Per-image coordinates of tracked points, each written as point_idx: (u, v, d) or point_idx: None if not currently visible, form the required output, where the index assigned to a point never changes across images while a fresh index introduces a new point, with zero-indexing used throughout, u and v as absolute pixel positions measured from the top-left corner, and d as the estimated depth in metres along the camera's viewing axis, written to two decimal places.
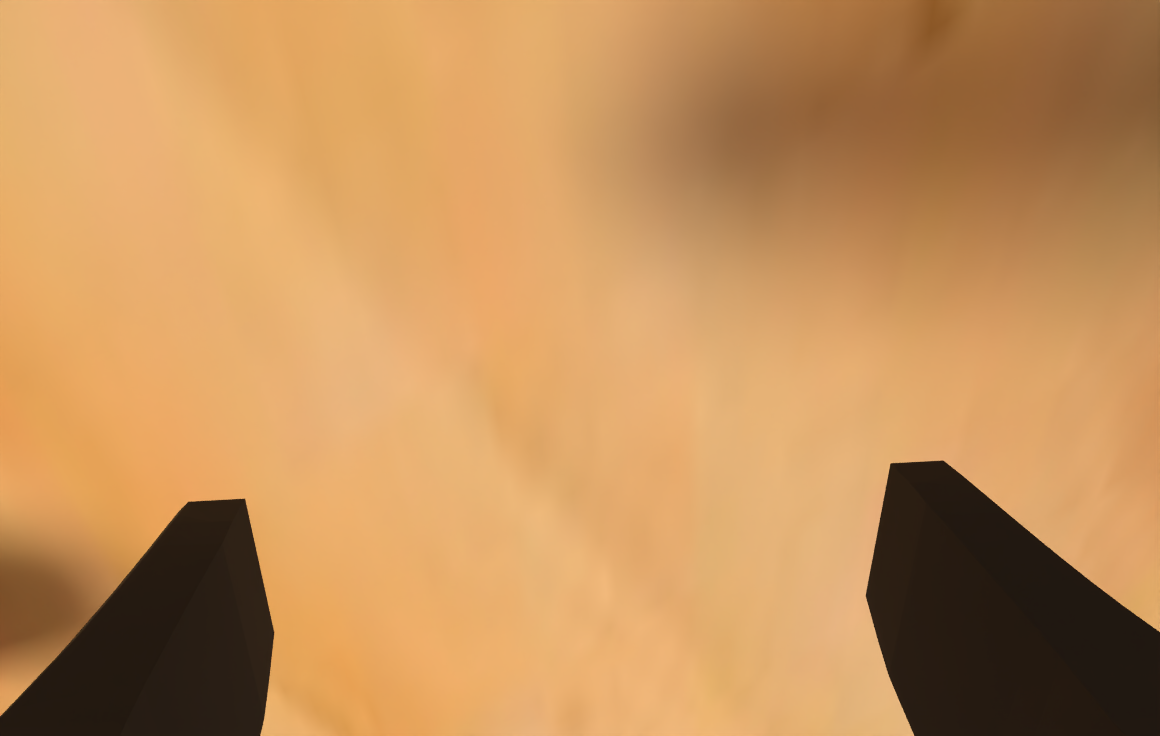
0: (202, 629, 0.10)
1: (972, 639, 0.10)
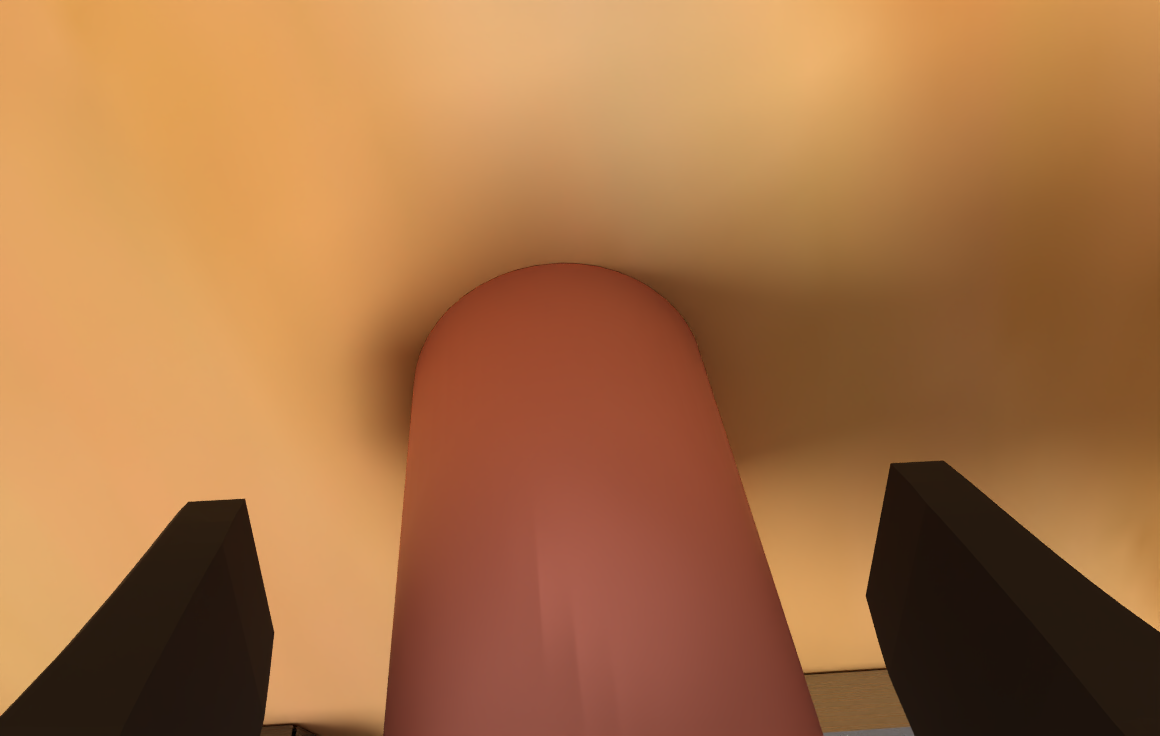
0: (203, 629, 0.10)
1: (972, 639, 0.10)
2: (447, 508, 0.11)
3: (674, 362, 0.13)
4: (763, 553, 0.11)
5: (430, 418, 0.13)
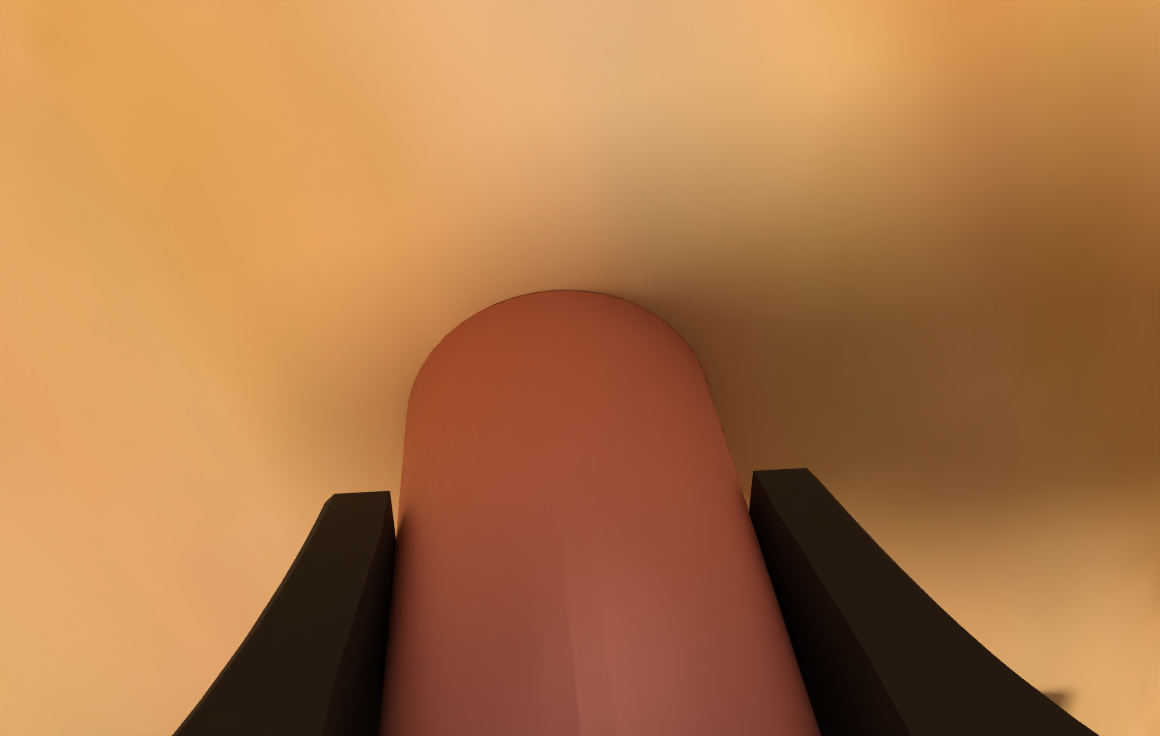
0: (369, 618, 0.10)
1: (813, 650, 0.10)
2: (441, 564, 0.10)
3: (681, 397, 0.12)
4: (778, 608, 0.10)
5: (424, 458, 0.12)
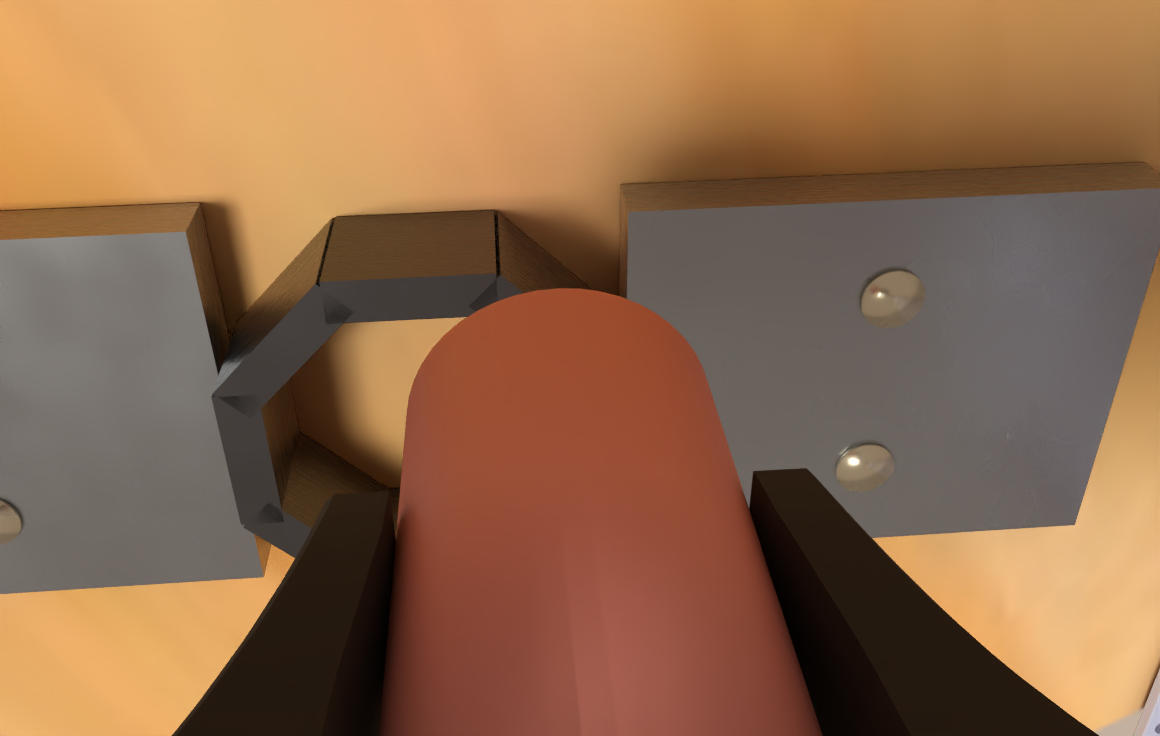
0: (369, 618, 0.10)
1: (813, 650, 0.10)
2: (440, 561, 0.10)
3: (681, 395, 0.12)
4: (779, 605, 0.10)
5: (424, 455, 0.12)
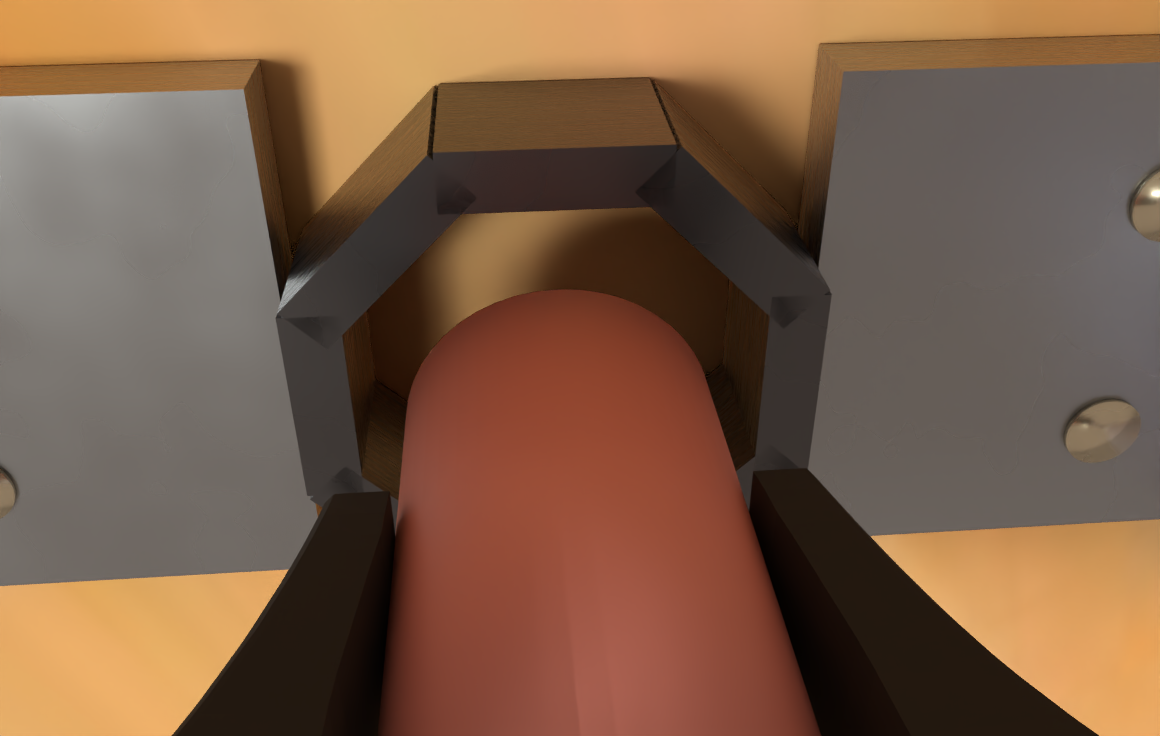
0: (369, 619, 0.10)
1: (813, 650, 0.10)
2: (439, 562, 0.10)
3: (681, 396, 0.12)
4: (778, 607, 0.10)
5: (423, 456, 0.12)
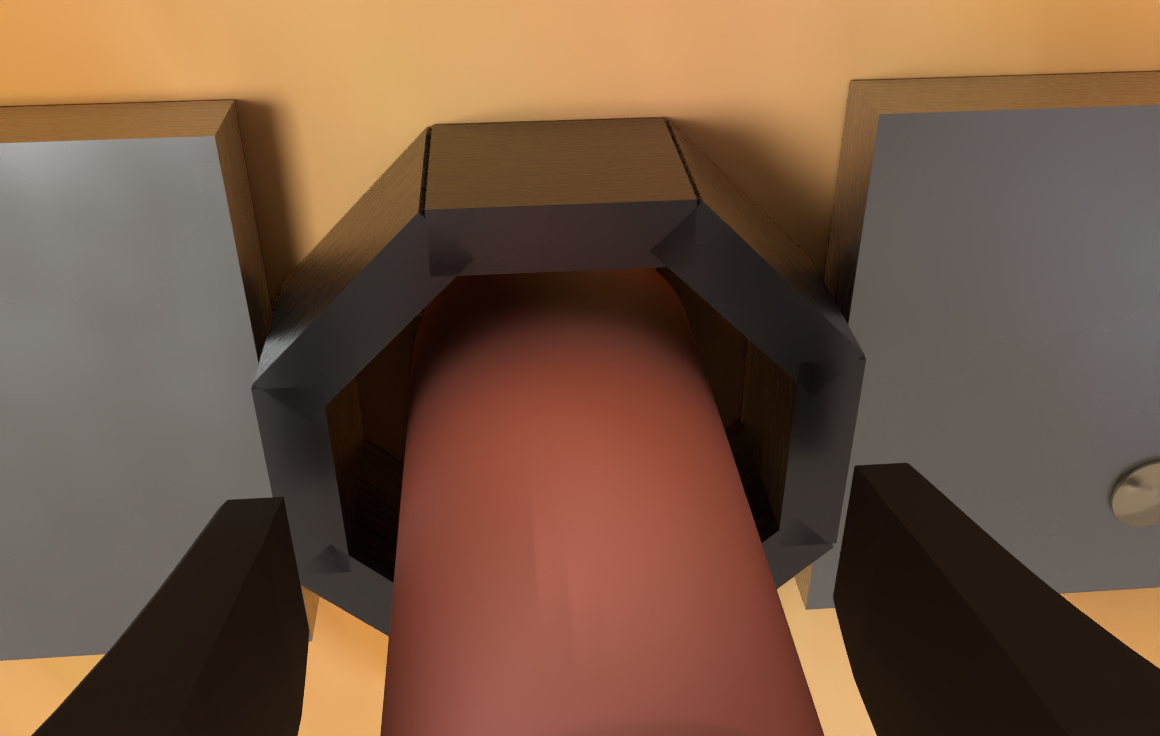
0: (247, 626, 0.10)
1: (930, 642, 0.10)
2: (446, 461, 0.11)
3: (664, 327, 0.13)
4: (747, 504, 0.12)
5: (429, 380, 0.13)
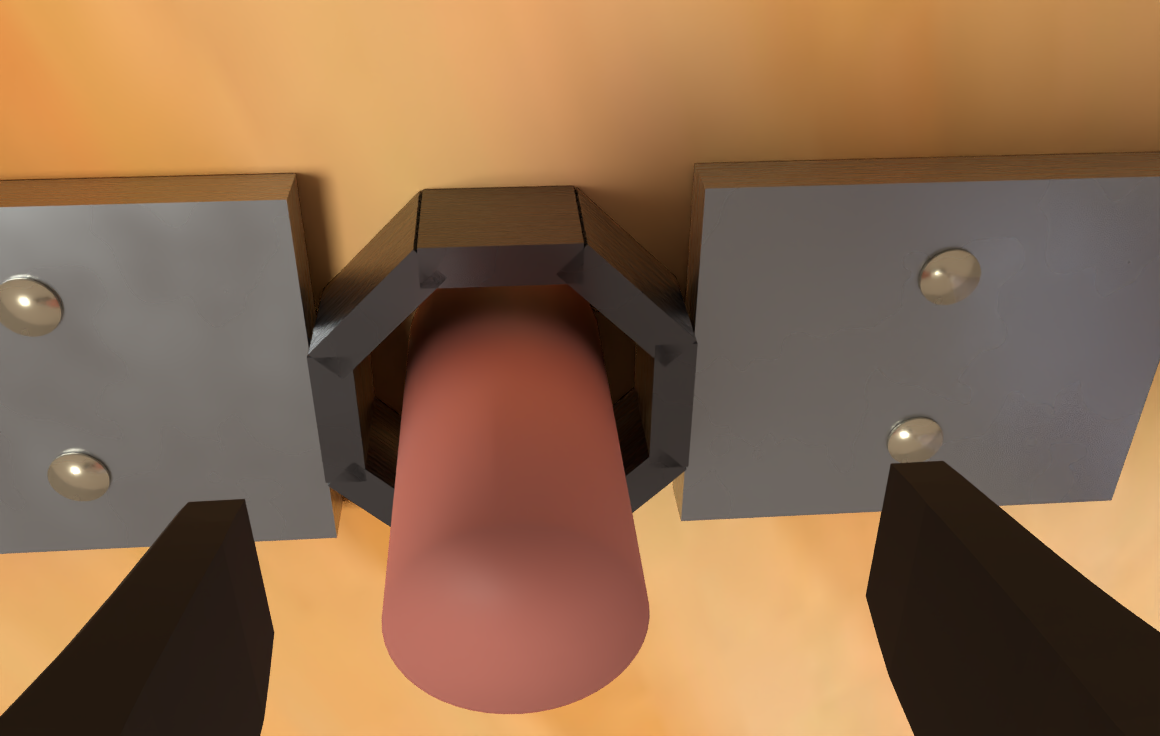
0: (203, 630, 0.10)
1: (972, 639, 0.10)
2: (429, 401, 0.19)
3: (570, 322, 0.21)
4: (613, 430, 0.19)
5: (420, 354, 0.21)
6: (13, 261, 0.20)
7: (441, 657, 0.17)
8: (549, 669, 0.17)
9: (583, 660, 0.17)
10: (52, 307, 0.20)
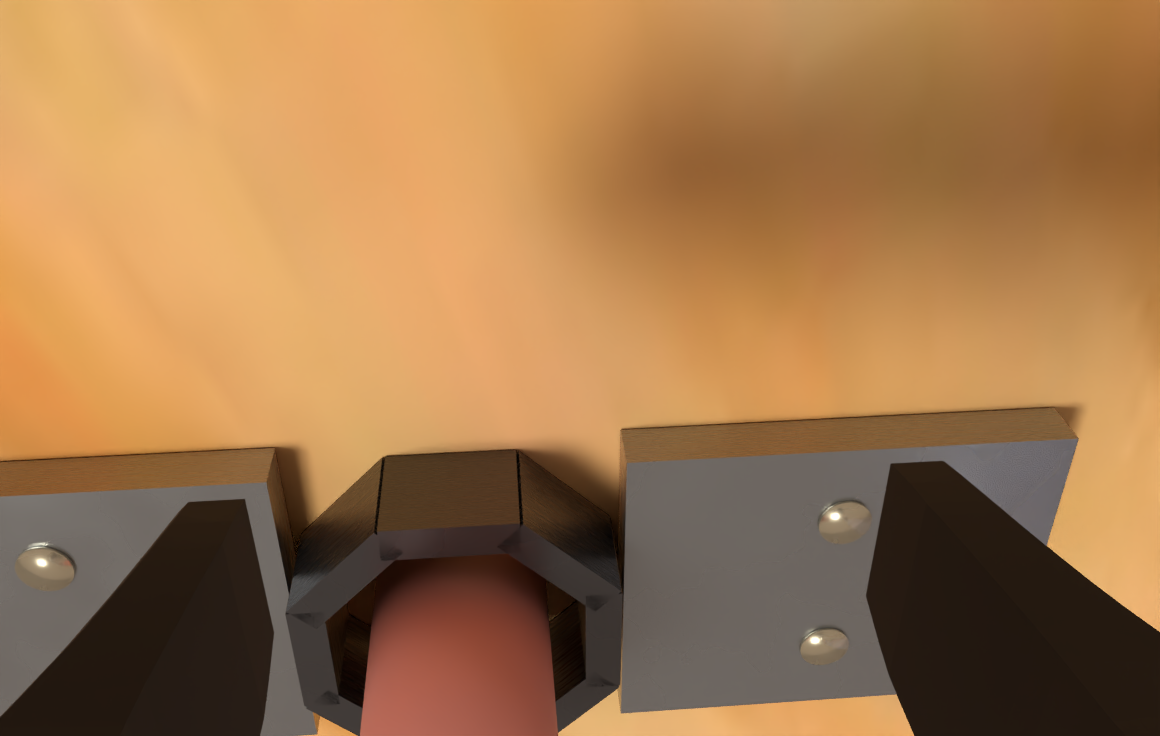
0: (203, 629, 0.10)
1: (972, 639, 0.10)
2: (388, 663, 0.22)
3: (513, 571, 0.24)
4: (546, 683, 0.22)
5: (383, 603, 0.24)
6: (33, 534, 0.23)
7: None
8: None
9: None
10: (66, 567, 0.24)
